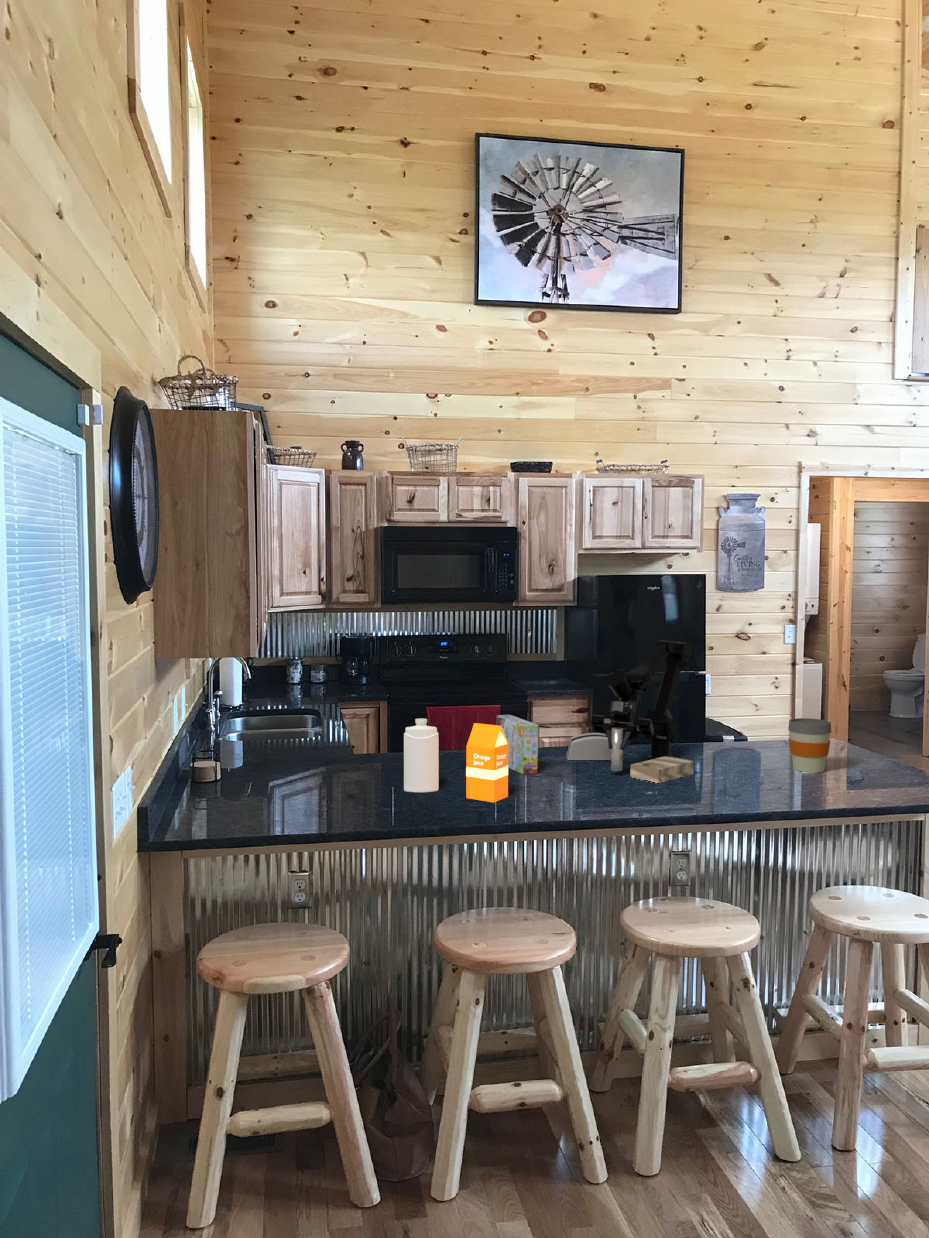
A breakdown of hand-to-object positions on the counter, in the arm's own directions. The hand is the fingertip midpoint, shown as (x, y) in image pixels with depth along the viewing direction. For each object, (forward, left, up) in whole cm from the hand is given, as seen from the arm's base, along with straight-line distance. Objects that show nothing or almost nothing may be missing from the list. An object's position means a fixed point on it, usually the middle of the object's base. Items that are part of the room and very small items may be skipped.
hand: (615, 748), depth 293 cm
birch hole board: (-10, +10, -8) cm, 16 cm away
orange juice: (+46, -8, -8) cm, 47 cm away
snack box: (+13, -28, -9) cm, 32 cm away
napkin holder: (-14, -19, -9) cm, 25 cm away
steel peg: (-1, 0, -7) cm, 7 cm away
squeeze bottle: (+54, -26, -8) cm, 60 cm away
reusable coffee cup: (-50, +36, -8) cm, 62 cm away
